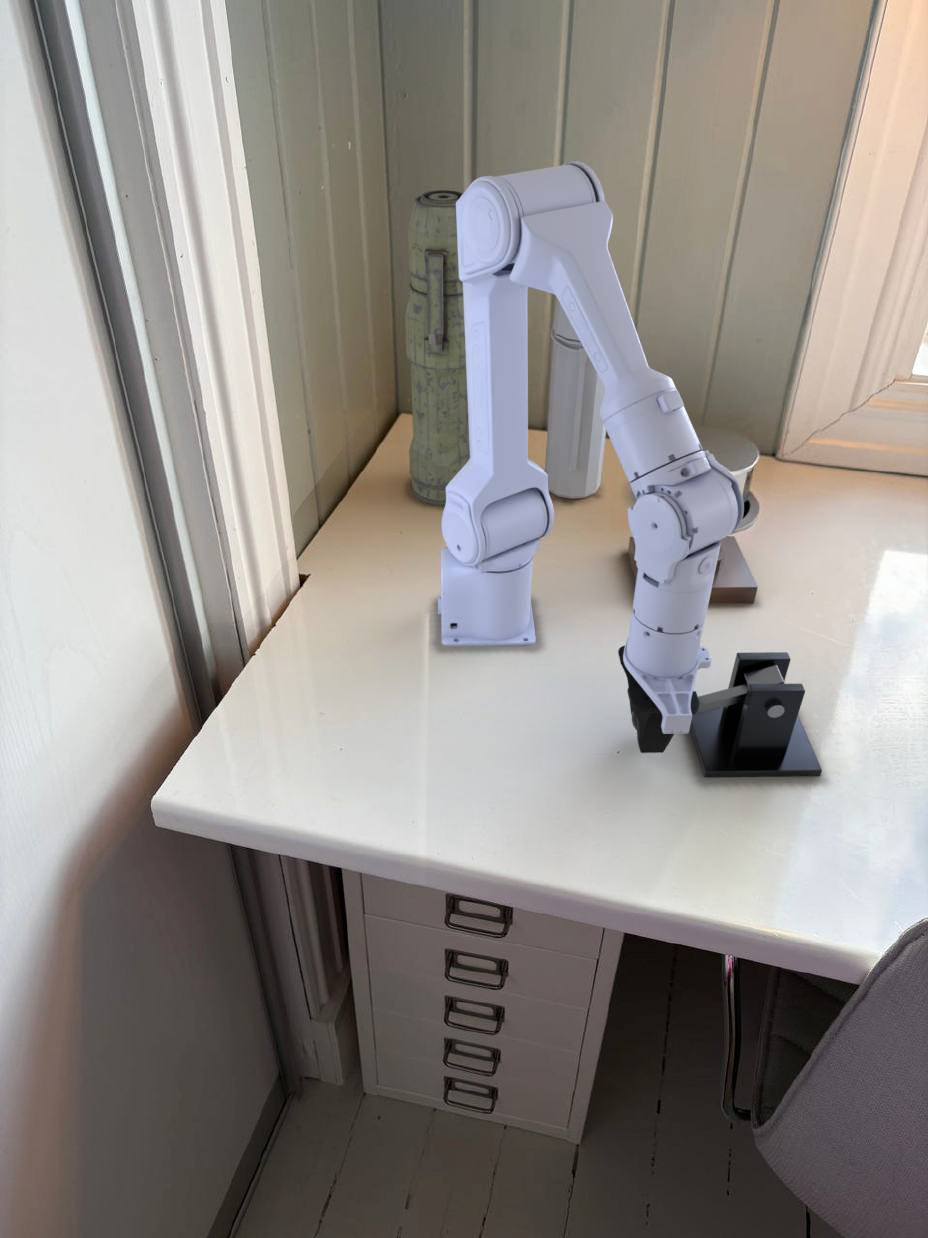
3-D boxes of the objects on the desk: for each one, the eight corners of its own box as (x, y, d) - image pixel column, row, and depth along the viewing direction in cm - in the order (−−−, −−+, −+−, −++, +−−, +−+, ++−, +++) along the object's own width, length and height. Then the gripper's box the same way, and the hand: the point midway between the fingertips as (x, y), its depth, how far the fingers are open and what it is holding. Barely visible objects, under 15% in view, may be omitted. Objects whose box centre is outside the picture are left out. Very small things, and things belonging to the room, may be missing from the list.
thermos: (481, 466, 123) (486, 182, 102) (478, 513, 114) (484, 210, 92) (414, 464, 123) (406, 180, 102) (406, 511, 114) (395, 209, 92)
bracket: (704, 779, 79) (722, 704, 74) (684, 715, 86) (700, 641, 80) (819, 778, 80) (846, 703, 74) (792, 714, 86) (814, 640, 81)
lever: (639, 748, 80) (630, 723, 79) (633, 722, 83) (624, 697, 81) (790, 708, 78) (785, 682, 76) (779, 683, 80) (774, 657, 78)
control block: (642, 604, 99) (647, 574, 97) (627, 552, 107) (631, 523, 105) (753, 603, 99) (761, 573, 97) (730, 552, 107) (737, 522, 105)
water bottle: (542, 471, 122) (555, 279, 107) (602, 476, 121) (624, 282, 106) (537, 507, 115) (550, 306, 99) (601, 512, 114) (624, 310, 99)
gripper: (742, 671, 68) (712, 797, 76) (698, 560, 79) (676, 679, 87) (646, 672, 67) (626, 798, 76) (616, 560, 79) (601, 680, 87)
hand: (647, 735), depth 82 cm, fingers closed on lever, 3 cm apart
